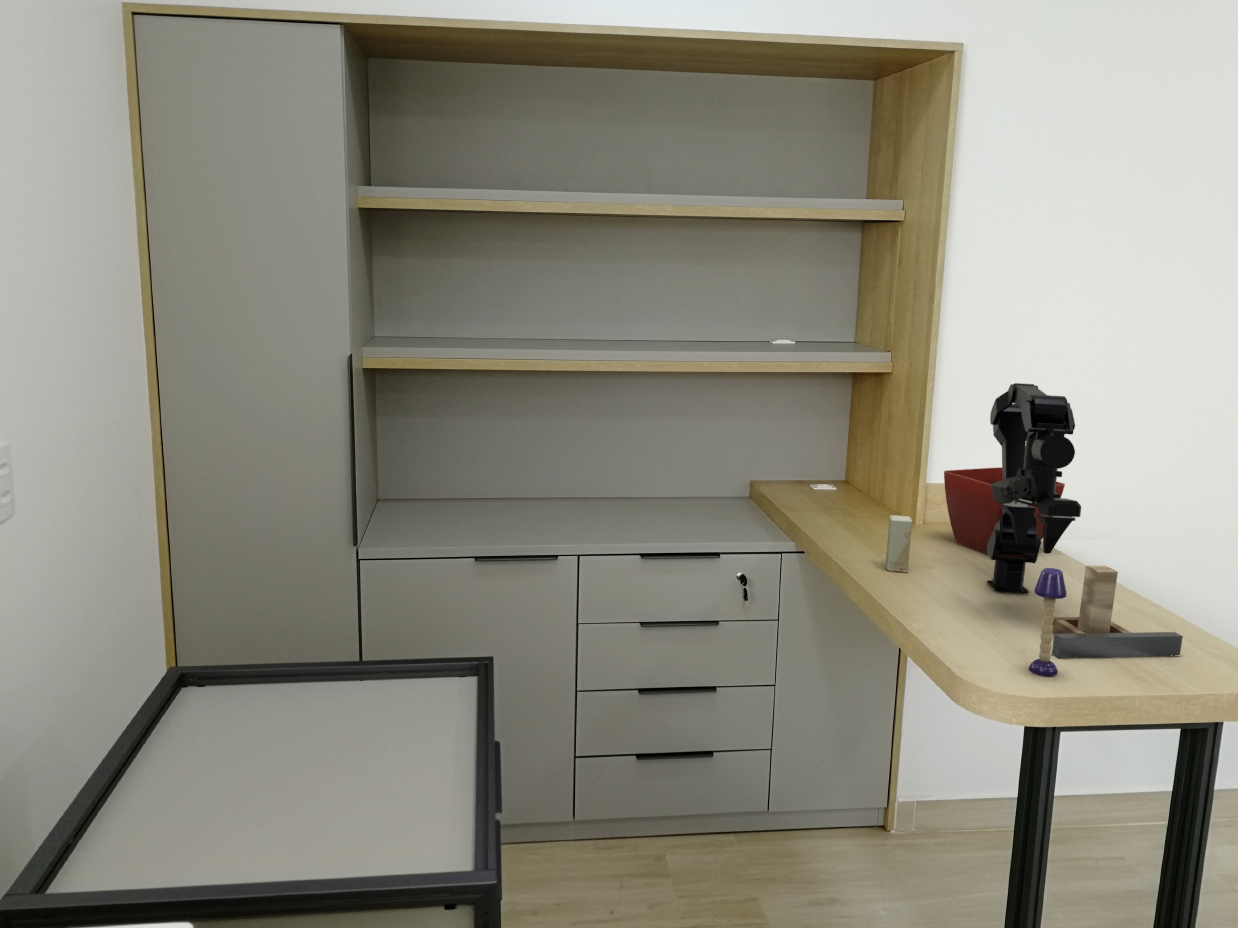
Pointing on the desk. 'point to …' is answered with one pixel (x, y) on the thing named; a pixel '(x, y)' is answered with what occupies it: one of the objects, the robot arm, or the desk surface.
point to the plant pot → (977, 505)
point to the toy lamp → (1048, 618)
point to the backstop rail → (1116, 645)
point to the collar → (1071, 626)
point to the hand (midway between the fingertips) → (1032, 548)
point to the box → (898, 543)
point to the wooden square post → (1097, 599)
